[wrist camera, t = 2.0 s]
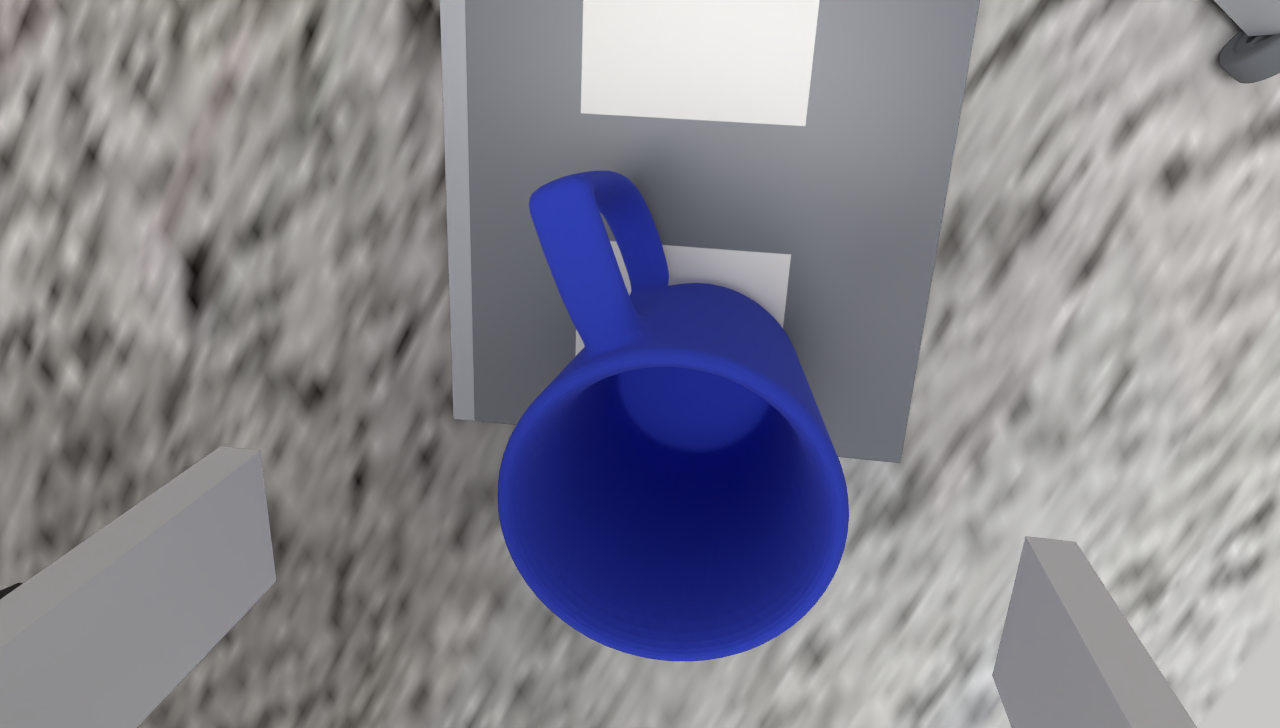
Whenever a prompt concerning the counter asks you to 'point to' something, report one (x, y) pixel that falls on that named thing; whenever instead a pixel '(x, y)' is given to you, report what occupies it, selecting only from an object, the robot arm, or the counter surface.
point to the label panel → (709, 177)
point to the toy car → (1252, 40)
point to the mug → (666, 450)
